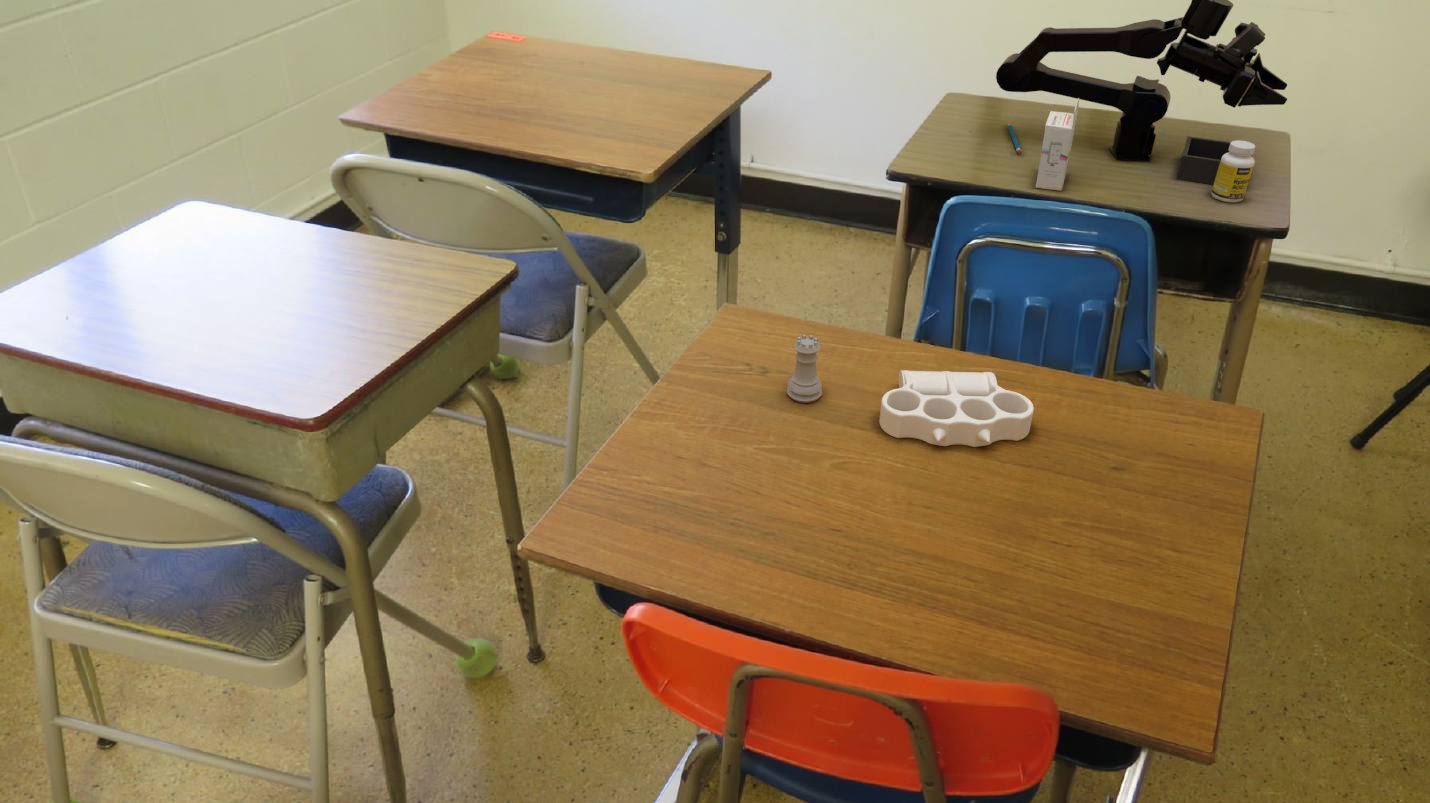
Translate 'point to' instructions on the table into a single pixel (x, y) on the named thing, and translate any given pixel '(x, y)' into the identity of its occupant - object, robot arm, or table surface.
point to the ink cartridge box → (1056, 149)
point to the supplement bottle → (1234, 172)
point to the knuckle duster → (954, 409)
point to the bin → (1201, 159)
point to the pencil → (1014, 139)
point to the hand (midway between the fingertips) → (1285, 94)
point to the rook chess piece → (805, 372)
